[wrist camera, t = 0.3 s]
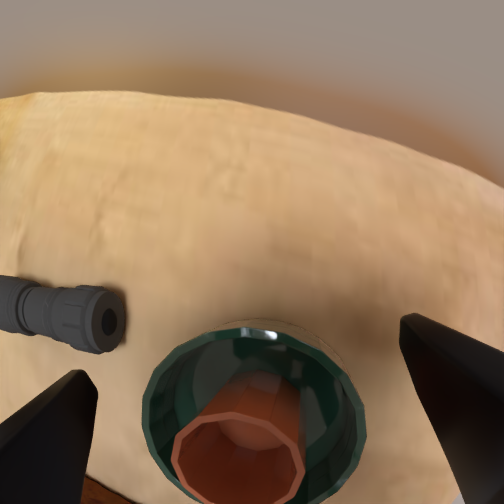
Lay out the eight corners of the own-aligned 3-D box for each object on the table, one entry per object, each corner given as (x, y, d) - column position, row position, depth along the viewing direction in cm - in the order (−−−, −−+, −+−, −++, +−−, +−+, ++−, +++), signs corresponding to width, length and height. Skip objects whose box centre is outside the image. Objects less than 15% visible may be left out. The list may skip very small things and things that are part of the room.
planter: (391, 404, 20) (410, 432, 15) (260, 505, 20) (251, 541, 16) (256, 277, 23) (243, 275, 18) (139, 398, 23) (107, 418, 18)
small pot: (324, 413, 20) (331, 471, 12) (258, 465, 20) (238, 528, 13) (257, 351, 21) (231, 386, 14) (195, 408, 22) (148, 456, 14)
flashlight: (130, 285, 24) (90, 285, 19) (130, 351, 24) (92, 364, 18) (17, 276, 27) (-20, 273, 21) (17, 326, 26) (-20, 329, 21)
